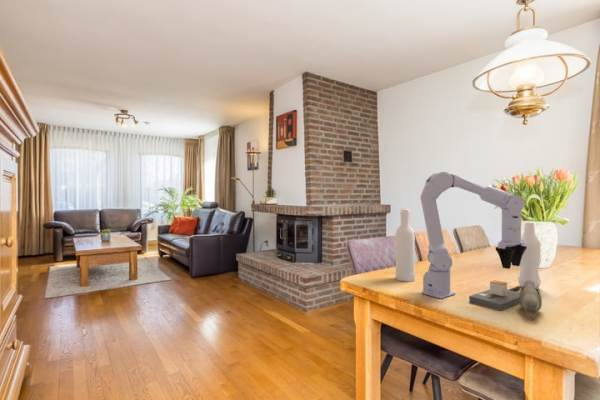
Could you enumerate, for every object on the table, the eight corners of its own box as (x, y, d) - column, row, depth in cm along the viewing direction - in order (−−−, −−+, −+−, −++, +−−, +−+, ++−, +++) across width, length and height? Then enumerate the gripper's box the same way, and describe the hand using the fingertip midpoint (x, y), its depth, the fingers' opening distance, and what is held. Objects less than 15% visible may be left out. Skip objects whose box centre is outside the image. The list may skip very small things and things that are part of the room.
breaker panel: (501, 310, 100) (501, 304, 100) (469, 301, 108) (469, 295, 108) (527, 300, 110) (527, 293, 110) (496, 292, 118) (496, 286, 118)
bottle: (396, 276, 142) (396, 208, 142) (415, 277, 140) (415, 208, 139) (395, 280, 135) (394, 209, 134) (414, 282, 132) (414, 209, 132)
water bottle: (535, 285, 126) (536, 222, 126) (544, 291, 120) (544, 223, 119) (514, 284, 128) (515, 222, 128) (522, 289, 122) (522, 223, 121)
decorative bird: (519, 319, 94) (519, 291, 93) (518, 302, 108) (518, 278, 108) (543, 323, 90) (544, 295, 90) (540, 305, 105) (540, 281, 104)
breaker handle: (502, 296, 106) (502, 284, 106) (489, 293, 110) (490, 281, 110) (506, 294, 108) (506, 282, 108) (494, 291, 111) (494, 280, 111)
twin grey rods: (518, 298, 112) (518, 295, 112) (501, 294, 116) (501, 291, 116) (533, 292, 118) (533, 289, 118) (517, 288, 123) (517, 285, 123)
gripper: (514, 231, 106) (513, 272, 106) (533, 228, 114) (533, 266, 114) (491, 229, 112) (491, 268, 112) (511, 226, 120) (511, 262, 120)
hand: (511, 266), depth 114 cm, fingers open, 6 cm apart
